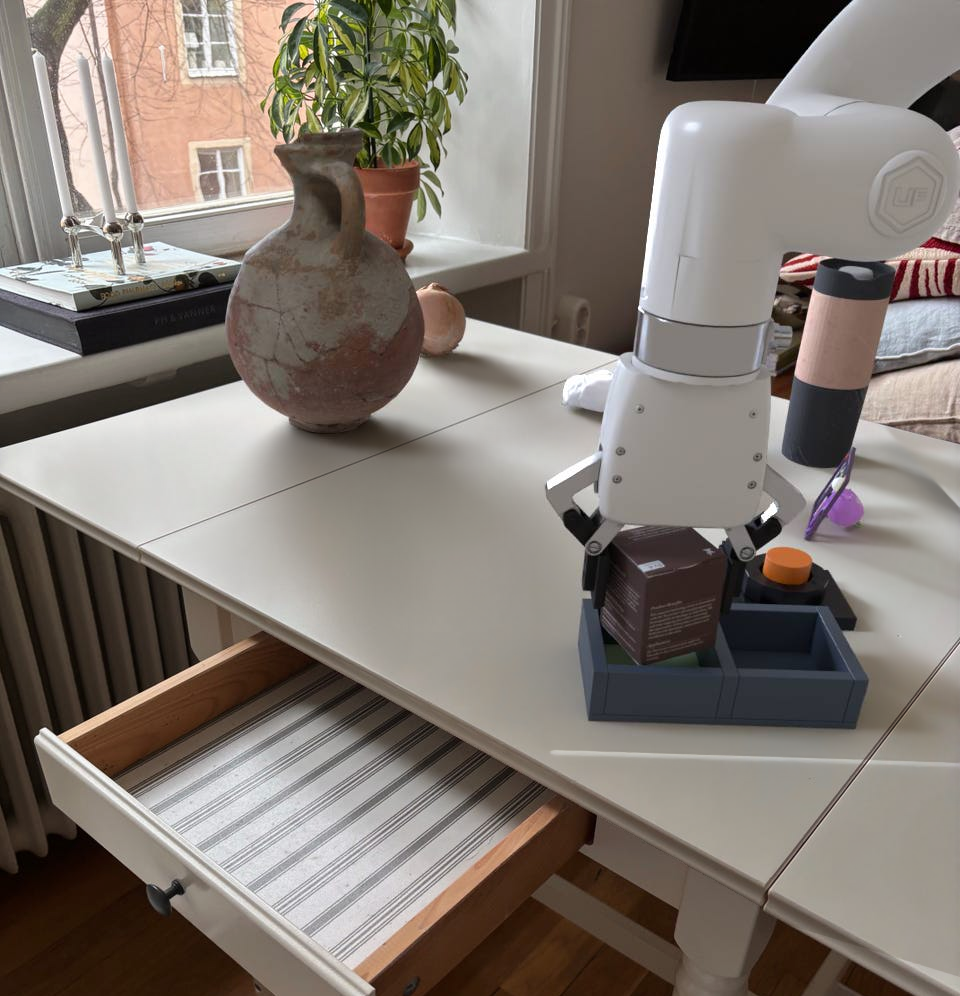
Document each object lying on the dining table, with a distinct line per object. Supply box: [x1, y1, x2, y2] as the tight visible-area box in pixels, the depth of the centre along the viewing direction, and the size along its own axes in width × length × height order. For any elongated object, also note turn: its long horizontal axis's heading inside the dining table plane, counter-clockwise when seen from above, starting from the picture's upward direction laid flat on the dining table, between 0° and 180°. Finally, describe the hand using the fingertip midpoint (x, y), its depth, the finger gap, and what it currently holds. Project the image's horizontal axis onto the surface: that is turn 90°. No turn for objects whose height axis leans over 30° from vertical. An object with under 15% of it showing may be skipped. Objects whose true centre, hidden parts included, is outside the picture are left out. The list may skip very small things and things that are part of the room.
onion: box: [415, 282, 467, 358], centre depth 134 cm, size 10×9×10 cm
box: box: [600, 526, 727, 665], centre depth 67 cm, size 6×6×7 cm
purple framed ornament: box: [804, 446, 865, 542], centre depth 92 cm, size 7×5×9 cm
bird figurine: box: [561, 369, 614, 413], centre depth 117 cm, size 5×7×10 cm
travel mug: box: [781, 257, 897, 468], centre depth 104 cm, size 8×8×20 cm
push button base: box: [732, 552, 858, 632], centre depth 81 cm, size 10×8×3 cm
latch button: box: [762, 546, 813, 585], centre depth 79 cm, size 4×4×2 cm
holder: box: [577, 597, 870, 730], centre depth 70 cm, size 18×10×4 cm, turn 89°
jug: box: [224, 127, 425, 434], centre depth 106 cm, size 22×22×30 cm
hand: (658, 600), depth 67 cm, fingers closed on box, 7 cm apart
